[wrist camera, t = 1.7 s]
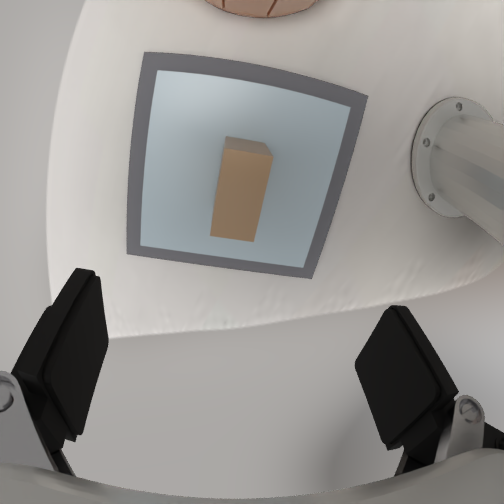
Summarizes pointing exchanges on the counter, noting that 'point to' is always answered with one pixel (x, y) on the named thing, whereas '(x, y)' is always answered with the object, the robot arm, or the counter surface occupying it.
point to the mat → (250, 74)
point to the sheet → (199, 157)
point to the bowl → (262, 7)
